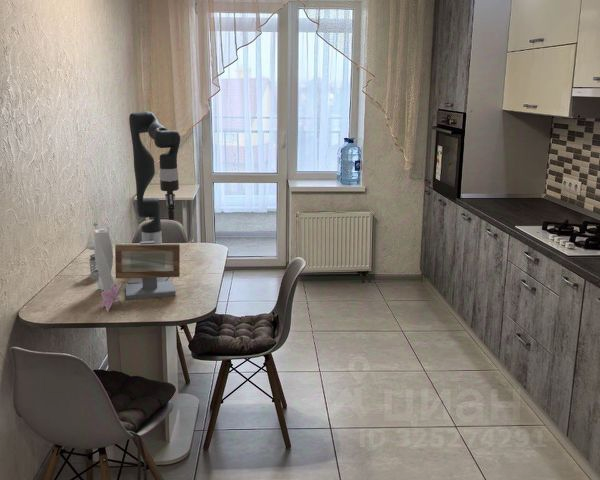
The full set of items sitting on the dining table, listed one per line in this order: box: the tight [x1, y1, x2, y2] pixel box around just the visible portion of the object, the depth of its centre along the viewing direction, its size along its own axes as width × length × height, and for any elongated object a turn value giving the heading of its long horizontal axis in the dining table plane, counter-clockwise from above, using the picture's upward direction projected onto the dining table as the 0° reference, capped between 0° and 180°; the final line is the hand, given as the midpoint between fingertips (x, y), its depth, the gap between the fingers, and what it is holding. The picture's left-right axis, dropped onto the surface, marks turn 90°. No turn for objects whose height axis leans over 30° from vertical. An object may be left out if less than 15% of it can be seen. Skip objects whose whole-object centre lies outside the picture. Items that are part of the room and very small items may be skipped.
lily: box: [100, 282, 123, 313], centre depth 253 cm, size 12×12×10 cm
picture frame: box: [114, 243, 181, 280], centre depth 267 cm, size 2×26×14 cm, turn 105°
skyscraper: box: [93, 225, 116, 291], centre depth 273 cm, size 8×8×28 cm
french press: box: [87, 222, 99, 280], centre depth 294 cm, size 10×12×25 cm
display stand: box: [125, 241, 176, 300], centre depth 270 cm, size 16×20×22 cm
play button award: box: [126, 277, 170, 284], centre depth 292 cm, size 16×2×20 cm
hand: (171, 219), depth 271 cm, fingers closed
